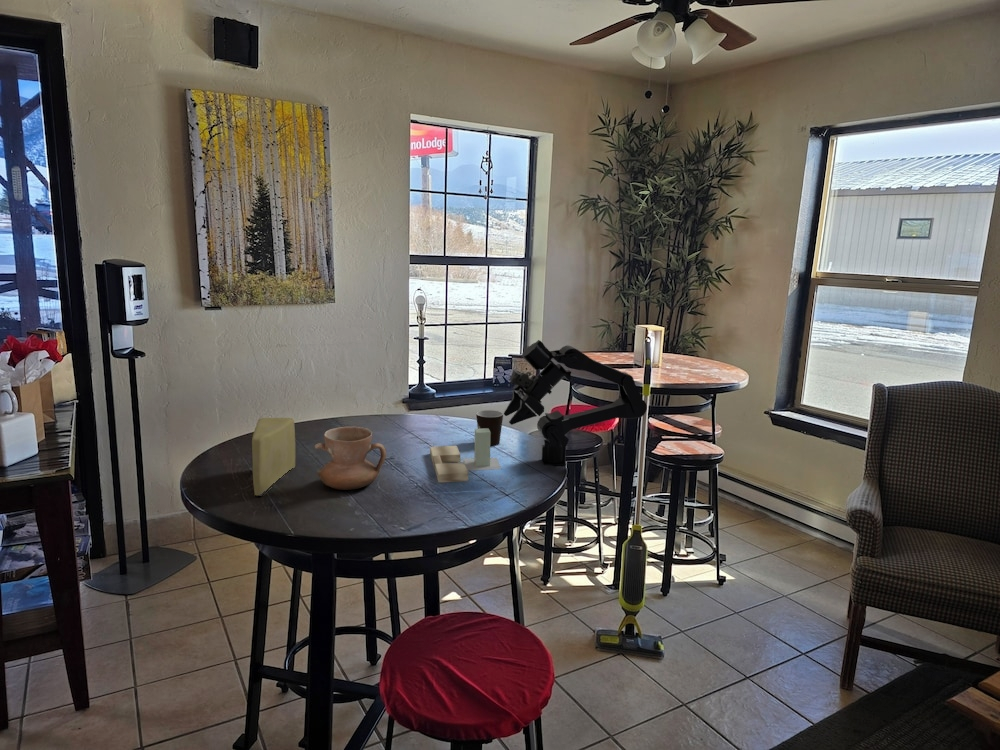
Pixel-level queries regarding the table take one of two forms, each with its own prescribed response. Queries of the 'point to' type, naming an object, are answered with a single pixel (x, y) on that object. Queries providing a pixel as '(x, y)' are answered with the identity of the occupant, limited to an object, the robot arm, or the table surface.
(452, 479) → the block
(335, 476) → the ceramic jug
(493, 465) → the mat
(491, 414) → the coffee mug
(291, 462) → the cheese
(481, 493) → the table surface
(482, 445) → the sage block
